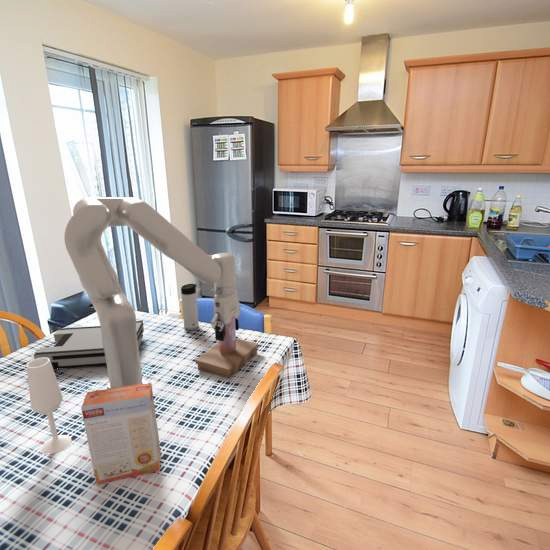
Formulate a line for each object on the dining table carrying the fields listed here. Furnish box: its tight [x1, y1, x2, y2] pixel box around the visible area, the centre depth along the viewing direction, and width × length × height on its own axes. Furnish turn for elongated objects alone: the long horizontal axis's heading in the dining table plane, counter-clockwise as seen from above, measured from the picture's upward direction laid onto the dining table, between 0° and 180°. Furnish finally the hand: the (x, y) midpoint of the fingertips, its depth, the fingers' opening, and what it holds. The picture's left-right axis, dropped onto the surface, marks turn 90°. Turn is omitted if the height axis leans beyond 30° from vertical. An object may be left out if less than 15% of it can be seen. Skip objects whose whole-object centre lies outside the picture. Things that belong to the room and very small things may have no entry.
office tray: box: [33, 320, 145, 370], centre depth 136 cm, size 21×32×8 cm, turn 98°
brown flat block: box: [194, 337, 260, 380], centre depth 131 cm, size 20×14×4 cm
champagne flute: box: [25, 357, 72, 455], centre depth 90 cm, size 7×7×24 cm
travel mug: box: [180, 283, 200, 332], centre depth 156 cm, size 6×7×20 cm
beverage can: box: [218, 314, 237, 355], centre depth 128 cm, size 6×6×15 cm
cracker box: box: [80, 382, 162, 484], centre depth 83 cm, size 14×6×21 cm, turn 104°
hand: (227, 334), depth 129 cm, fingers open, 9 cm apart
